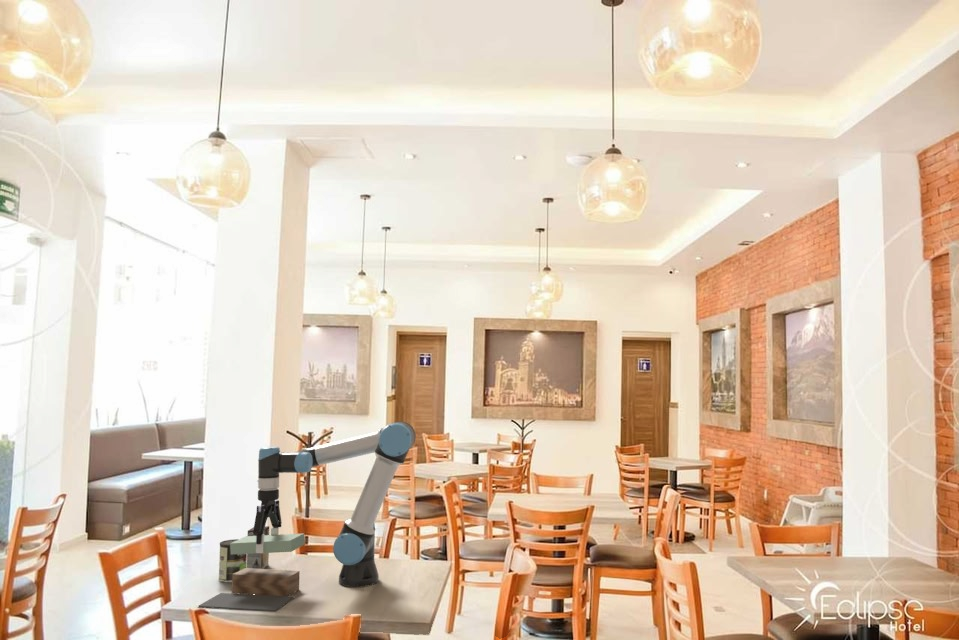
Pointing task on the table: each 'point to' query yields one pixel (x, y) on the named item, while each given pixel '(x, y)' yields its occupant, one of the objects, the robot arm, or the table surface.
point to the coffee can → (230, 561)
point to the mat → (247, 602)
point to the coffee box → (258, 554)
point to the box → (265, 582)
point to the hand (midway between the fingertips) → (267, 549)
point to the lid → (268, 544)
